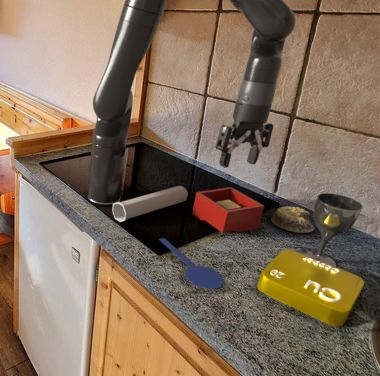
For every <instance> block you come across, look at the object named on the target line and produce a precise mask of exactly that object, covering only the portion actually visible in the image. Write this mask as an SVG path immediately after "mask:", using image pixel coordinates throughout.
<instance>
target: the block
mask: <svg viewBox="0 0 380 376" xmlns="http://www.w3.org/2000/svg"><path fill="white" fill-rule="evenodd" d="M216 203H217V204H219V205H220V206H222V207H223V208H225V209H226V210H233V209H239V208H241V207H240V206H239V205H237V204H235V203H234V202H232V201H230V200H224V201H218V202H216Z"/></svg>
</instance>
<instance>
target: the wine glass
mask: <svg viewBox="0 0 380 376" xmlns="http://www.w3.org/2000/svg"><path fill="white" fill-rule="evenodd" d="M313 207H314V208H313V222H314V224H315V226H316V228H317V229H318V231H319V234H320V236H321V241H320V246H319V250H318V252H317V251H312V250H304V251H301V252H300V253H301V254H304V255H306V256H309V257H311V258H314V259H317V260H319V261H322V262H324V263H327V264H329V265H332V266H334V267H337V264H336V263H337V262H335V260H333V258H331V257H330V256H328V255H326V254H324V251H325V248H326V246H327V244H328V243H329V242H330V240H331V239H332V238H334V237H337V236H340V235H342V234H345V233H346V232H348V231H350V229H352V227H353V226H354V225H355V224H356V222H357V220H358V218H359V216H360V215H361V212H362V209H363V205H362V203H360V202H359V201H357V200H356V199H353V198H351V197H350V196H349V197H348V196H345V195H342V194H339V193H331V192H326V193H320V194H318V196H317V197H316V200H315V204H314V206H313Z"/></svg>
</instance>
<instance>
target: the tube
mask: <svg viewBox="0 0 380 376" xmlns="http://www.w3.org/2000/svg"><path fill="white" fill-rule="evenodd" d="M188 196H189V192H188V190H187V188H185V187H184V186H182V185H177V186H174V187H170V188H166V189H162V190H159V191H155V192H151V193H148V194H145V195H142V196H138V197H134V198H131V199H127V200H123V201H120V202H117V203H114V204H113V205H112V211H111V212H112V215H113V218H114V219H115V220H116V221H118V222H119V223H122V222H126V221H127V220H129V219H132V218H135V217H138V216H142V215H144V214H147V213H151V212H154V211H157V210H161V209H163V208H167V207H170V206H173V205H176V204H177V205H178V204H179V203H183V202H186V201H187V198H188Z"/></svg>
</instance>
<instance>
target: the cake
mask: <svg viewBox="0 0 380 376" xmlns="http://www.w3.org/2000/svg"><path fill="white" fill-rule="evenodd" d="M270 221H271V223H272V224H273V225H274V226H276V227H277V228H279V229H282V230H284V231H288V232H291V233H292V232H293V233H296V234H297V233H298V234H300V233H301V234H306V233H311V232H313V231H314V230H315V226H314V225H313V224H312V223H311V222H310V212H309V211H308V210H305V209H304V208H300V207H299V206H296V207H295V206H281V207H278V208H277V209H276V211H275V212H274V213H273V216H272V217H271V218H270Z"/></svg>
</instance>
